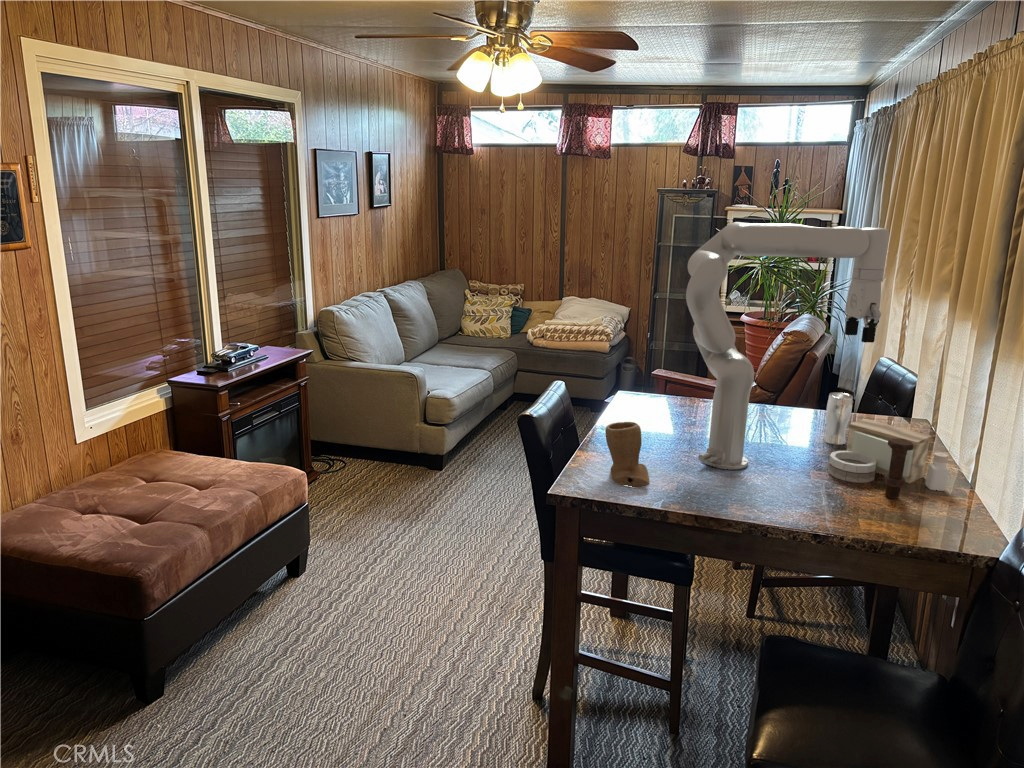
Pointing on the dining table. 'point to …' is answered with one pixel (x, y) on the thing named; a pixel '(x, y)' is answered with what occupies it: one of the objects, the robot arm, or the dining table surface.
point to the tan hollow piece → (626, 454)
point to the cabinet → (887, 433)
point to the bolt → (896, 466)
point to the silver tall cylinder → (837, 417)
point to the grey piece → (868, 455)
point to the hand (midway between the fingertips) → (859, 338)
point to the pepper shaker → (938, 473)
